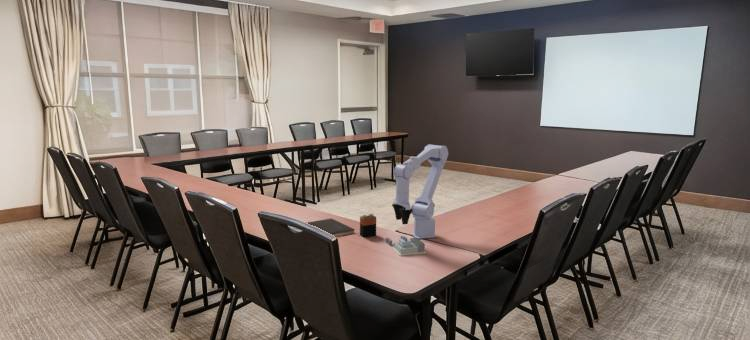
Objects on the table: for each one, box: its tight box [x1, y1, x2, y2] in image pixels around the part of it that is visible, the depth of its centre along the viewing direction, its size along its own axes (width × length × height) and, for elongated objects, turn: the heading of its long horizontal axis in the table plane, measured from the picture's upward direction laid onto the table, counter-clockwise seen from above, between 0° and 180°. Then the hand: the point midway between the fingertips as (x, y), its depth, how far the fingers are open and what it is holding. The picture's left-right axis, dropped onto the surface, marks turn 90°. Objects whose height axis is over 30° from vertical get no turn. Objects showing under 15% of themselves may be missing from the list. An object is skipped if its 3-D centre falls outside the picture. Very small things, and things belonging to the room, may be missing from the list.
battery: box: [359, 213, 377, 238], centre depth 211 cm, size 4×7×10 cm, turn 116°
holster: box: [385, 235, 404, 246], centre depth 202 cm, size 8×5×2 cm, turn 108°
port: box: [391, 237, 428, 257], centre depth 192 cm, size 12×10×4 cm
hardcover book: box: [306, 218, 356, 237], centre depth 220 cm, size 16×23×2 cm
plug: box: [398, 236, 411, 248], centre depth 191 cm, size 4×4×6 cm
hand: (401, 221), depth 200 cm, fingers open, 7 cm apart
